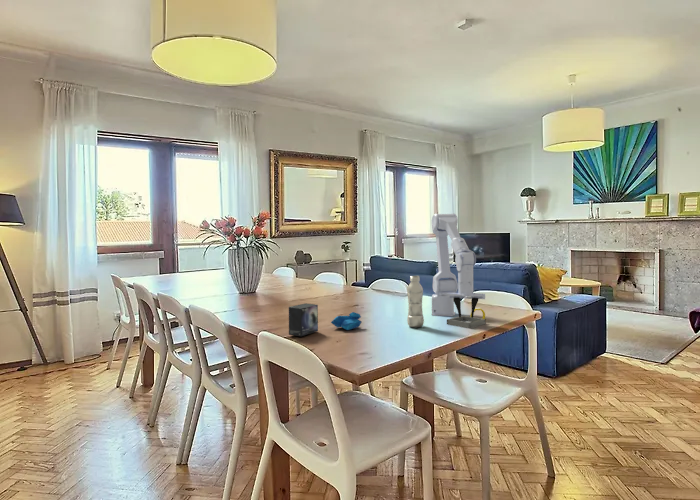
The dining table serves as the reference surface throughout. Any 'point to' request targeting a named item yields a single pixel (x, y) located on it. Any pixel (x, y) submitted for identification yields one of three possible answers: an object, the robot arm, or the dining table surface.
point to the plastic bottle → (415, 303)
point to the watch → (481, 310)
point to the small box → (303, 319)
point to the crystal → (347, 321)
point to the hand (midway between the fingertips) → (466, 317)
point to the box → (459, 322)
